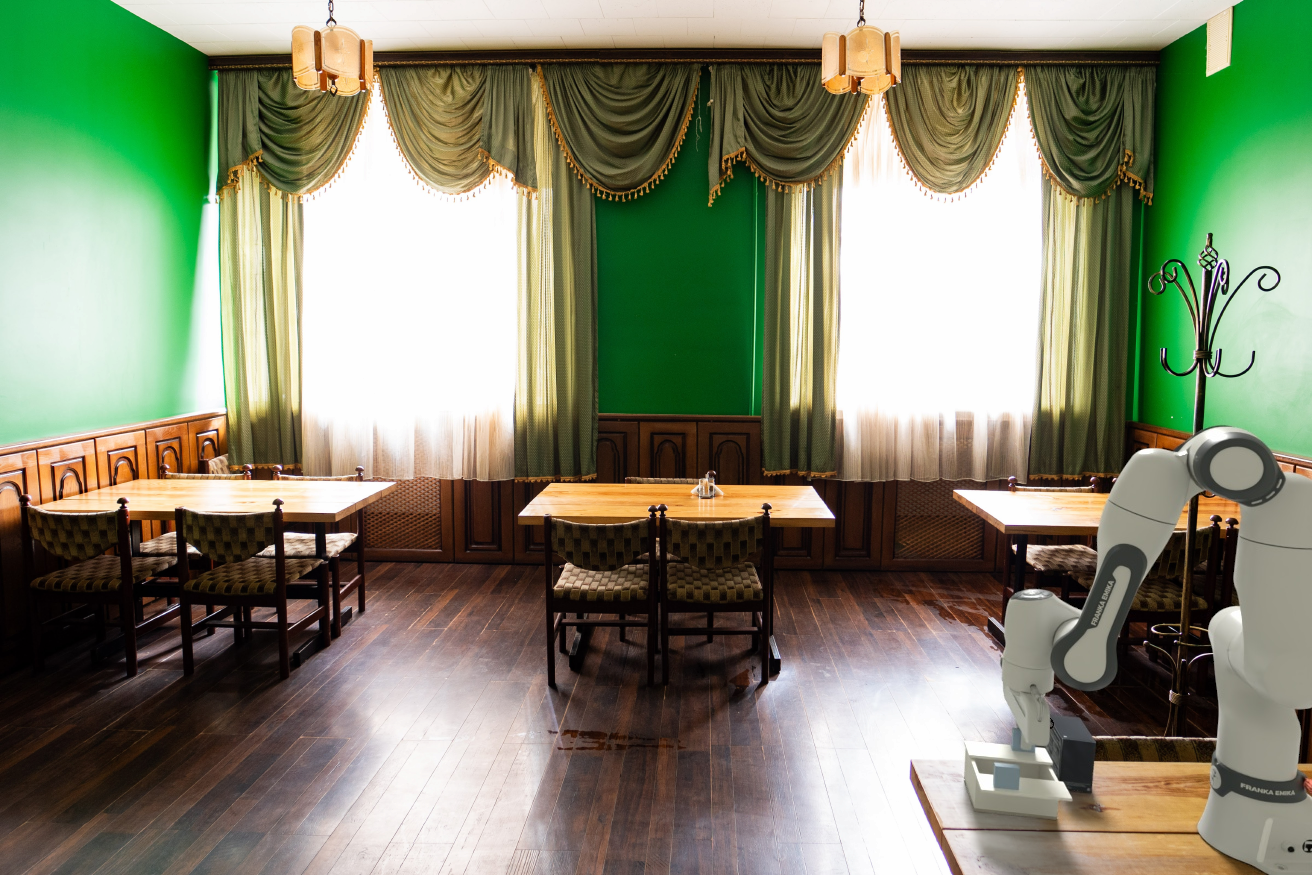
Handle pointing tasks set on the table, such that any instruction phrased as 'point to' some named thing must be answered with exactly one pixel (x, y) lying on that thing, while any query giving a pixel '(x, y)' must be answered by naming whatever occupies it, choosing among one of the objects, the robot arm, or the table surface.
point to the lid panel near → (1020, 784)
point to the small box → (1072, 753)
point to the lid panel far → (1008, 751)
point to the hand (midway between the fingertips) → (1023, 744)
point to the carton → (1009, 802)
